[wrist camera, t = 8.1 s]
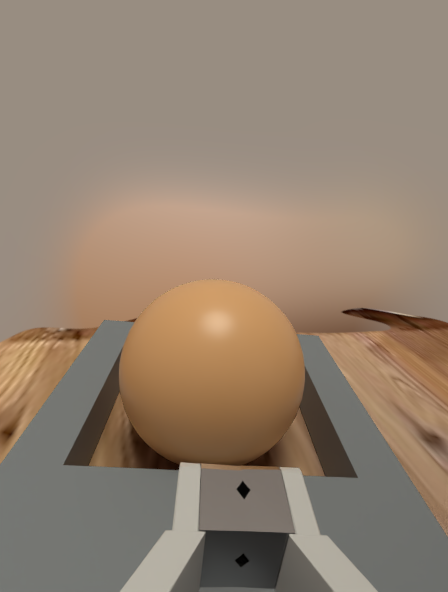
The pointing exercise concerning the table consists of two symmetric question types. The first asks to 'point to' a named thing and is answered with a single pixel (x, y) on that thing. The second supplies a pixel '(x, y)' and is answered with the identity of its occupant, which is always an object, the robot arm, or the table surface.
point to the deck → (163, 485)
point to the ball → (211, 374)
